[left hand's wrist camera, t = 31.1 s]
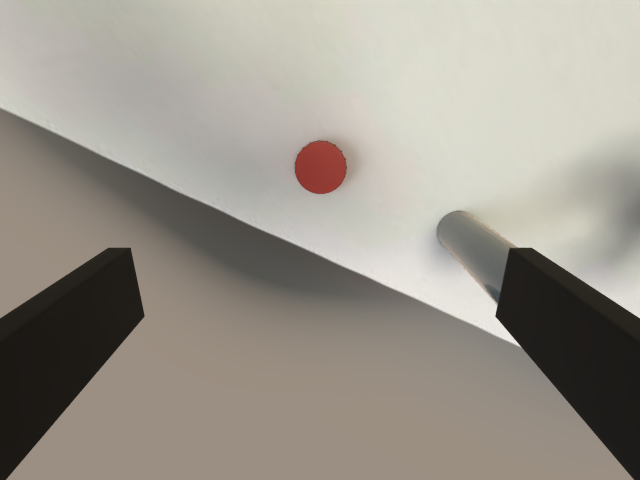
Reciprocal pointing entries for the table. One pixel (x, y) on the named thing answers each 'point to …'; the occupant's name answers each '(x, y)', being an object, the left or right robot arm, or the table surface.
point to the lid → (320, 167)
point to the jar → (476, 250)
